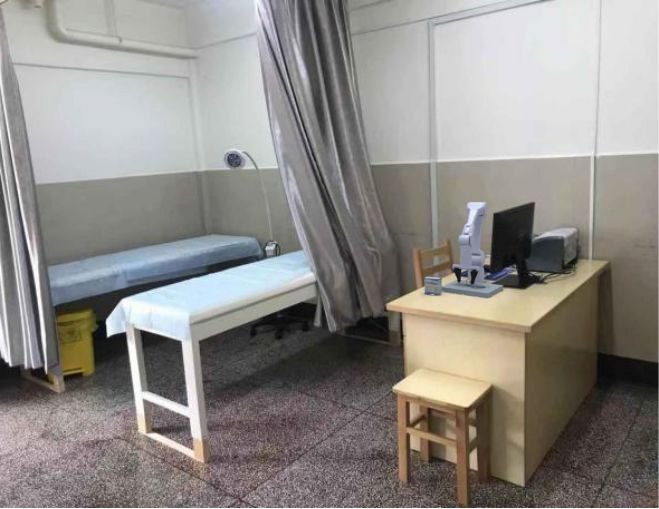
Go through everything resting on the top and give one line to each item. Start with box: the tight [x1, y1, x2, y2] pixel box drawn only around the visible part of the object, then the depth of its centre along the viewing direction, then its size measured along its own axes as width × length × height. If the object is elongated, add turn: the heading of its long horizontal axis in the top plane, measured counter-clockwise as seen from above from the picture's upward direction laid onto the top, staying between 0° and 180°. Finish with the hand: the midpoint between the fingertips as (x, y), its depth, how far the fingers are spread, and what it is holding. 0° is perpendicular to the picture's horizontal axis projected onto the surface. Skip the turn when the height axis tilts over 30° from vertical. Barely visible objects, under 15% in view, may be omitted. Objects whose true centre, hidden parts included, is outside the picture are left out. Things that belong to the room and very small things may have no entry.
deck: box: [442, 279, 504, 299], centre depth 283 cm, size 26×18×2 cm
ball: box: [464, 278, 472, 286], centre depth 284 cm, size 4×4×4 cm
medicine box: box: [424, 276, 443, 296], centre depth 281 cm, size 8×4×9 cm, turn 62°
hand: (466, 283), depth 285 cm, fingers open, 7 cm apart
